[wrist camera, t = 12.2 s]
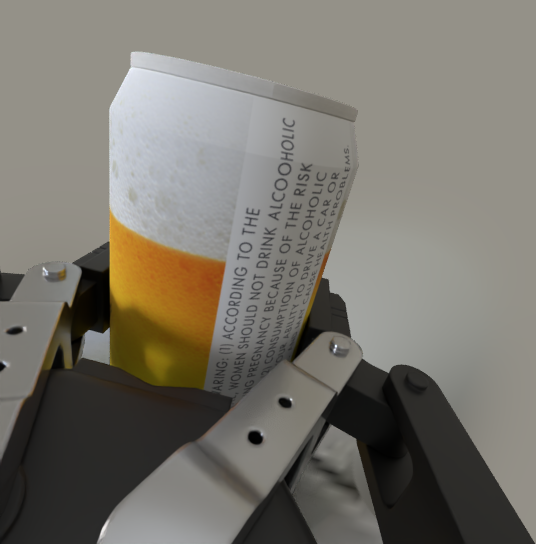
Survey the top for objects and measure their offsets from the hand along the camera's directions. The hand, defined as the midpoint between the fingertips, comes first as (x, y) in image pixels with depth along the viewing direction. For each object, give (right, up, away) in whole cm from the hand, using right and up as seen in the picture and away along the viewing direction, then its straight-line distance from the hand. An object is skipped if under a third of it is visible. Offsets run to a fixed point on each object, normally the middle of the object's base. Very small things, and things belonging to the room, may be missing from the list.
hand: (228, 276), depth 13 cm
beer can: (-2, -9, +2) cm, 9 cm away
